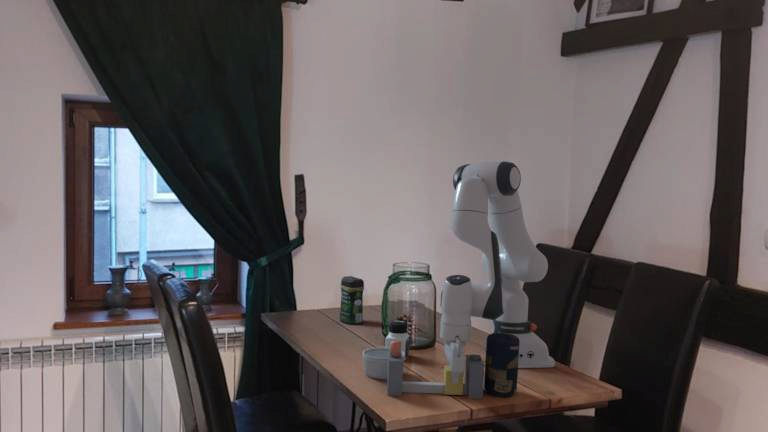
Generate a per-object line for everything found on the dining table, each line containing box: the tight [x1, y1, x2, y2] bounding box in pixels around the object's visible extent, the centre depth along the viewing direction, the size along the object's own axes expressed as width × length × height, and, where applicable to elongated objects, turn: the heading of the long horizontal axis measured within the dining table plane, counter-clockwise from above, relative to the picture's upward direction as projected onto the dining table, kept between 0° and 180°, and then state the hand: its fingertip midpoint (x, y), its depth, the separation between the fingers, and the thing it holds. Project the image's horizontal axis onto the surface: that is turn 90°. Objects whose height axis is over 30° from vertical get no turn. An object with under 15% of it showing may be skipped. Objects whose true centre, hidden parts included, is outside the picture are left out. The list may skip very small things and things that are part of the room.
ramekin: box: [362, 347, 405, 380], centre depth 220 cm, size 13×13×7 cm
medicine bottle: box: [384, 320, 411, 361], centre depth 240 cm, size 7×7×12 cm
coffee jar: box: [339, 275, 365, 325], centre depth 287 cm, size 10×8×19 cm
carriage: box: [442, 365, 465, 396], centre depth 205 cm, size 5×6×7 cm
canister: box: [483, 332, 520, 397], centre depth 206 cm, size 10×10×18 cm
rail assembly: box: [386, 352, 485, 399], centre depth 205 cm, size 27×9×11 cm, turn 91°
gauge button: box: [390, 340, 402, 357], centre depth 204 cm, size 3×3×4 cm
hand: (453, 379), depth 205 cm, fingers closed on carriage, 6 cm apart
